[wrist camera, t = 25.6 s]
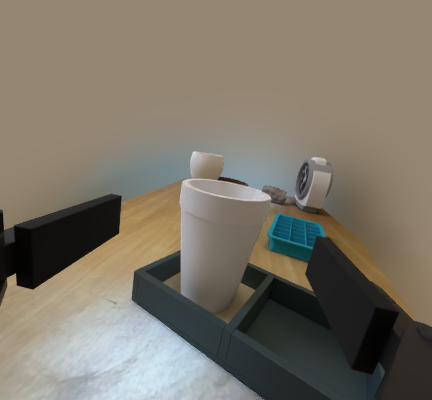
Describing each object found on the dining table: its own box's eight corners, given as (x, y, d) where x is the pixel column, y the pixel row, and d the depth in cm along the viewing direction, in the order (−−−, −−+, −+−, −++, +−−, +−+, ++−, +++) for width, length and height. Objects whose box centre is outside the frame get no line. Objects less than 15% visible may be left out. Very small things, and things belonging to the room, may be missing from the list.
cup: (179, 198, 70) (186, 150, 67) (192, 193, 80) (199, 151, 77) (210, 206, 68) (219, 156, 64) (220, 200, 78) (228, 157, 74)
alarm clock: (289, 201, 99) (301, 155, 94) (309, 204, 98) (322, 158, 93) (300, 212, 81) (315, 156, 77) (324, 216, 81) (341, 161, 76)
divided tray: (371, 351, 24) (383, 322, 23) (383, 488, 13) (405, 446, 13) (196, 261, 35) (200, 240, 34) (131, 299, 25) (134, 270, 24)
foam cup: (152, 283, 27) (165, 177, 24) (209, 264, 33) (225, 179, 30) (203, 340, 20) (230, 204, 17) (261, 303, 27) (288, 199, 24)
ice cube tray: (318, 235, 59) (321, 224, 58) (326, 269, 40) (331, 254, 39) (274, 223, 62) (276, 212, 62) (263, 249, 44) (266, 235, 43)
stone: (285, 205, 87) (288, 191, 85) (259, 200, 89) (262, 186, 87) (283, 201, 95) (287, 188, 93) (260, 197, 96) (263, 183, 95)
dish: (210, 184, 105) (212, 173, 104) (255, 195, 97) (257, 184, 96) (191, 187, 89) (193, 175, 88) (243, 201, 81) (246, 188, 80)
